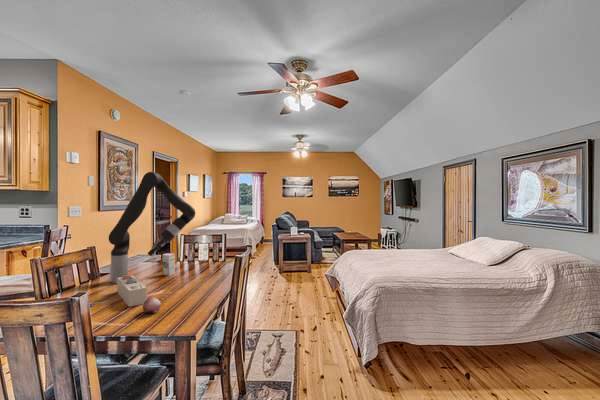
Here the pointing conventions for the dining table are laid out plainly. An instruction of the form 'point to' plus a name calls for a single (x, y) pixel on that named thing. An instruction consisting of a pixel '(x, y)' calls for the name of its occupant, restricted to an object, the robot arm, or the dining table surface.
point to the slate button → (130, 281)
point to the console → (131, 291)
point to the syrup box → (168, 264)
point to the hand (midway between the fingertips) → (148, 254)
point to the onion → (151, 305)
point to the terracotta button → (126, 277)
